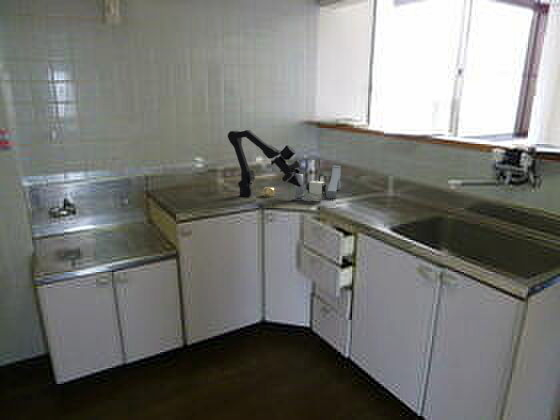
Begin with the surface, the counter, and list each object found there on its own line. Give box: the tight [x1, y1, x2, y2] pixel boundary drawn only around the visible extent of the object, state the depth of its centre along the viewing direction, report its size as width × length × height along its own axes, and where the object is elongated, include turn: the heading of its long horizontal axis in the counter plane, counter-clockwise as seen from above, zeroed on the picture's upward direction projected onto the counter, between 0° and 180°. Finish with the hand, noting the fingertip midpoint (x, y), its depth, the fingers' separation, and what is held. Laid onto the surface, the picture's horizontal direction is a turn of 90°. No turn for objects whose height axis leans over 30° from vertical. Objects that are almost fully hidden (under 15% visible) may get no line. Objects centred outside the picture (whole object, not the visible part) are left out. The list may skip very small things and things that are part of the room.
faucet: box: [325, 165, 342, 199], centre depth 239 cm, size 6×17×30 cm
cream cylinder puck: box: [263, 186, 275, 198], centre depth 231 cm, size 6×6×5 cm
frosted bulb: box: [293, 173, 305, 198], centre depth 220 cm, size 5×5×13 cm
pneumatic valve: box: [305, 179, 329, 202], centre depth 218 cm, size 6×12×12 cm, turn 62°
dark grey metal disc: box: [293, 196, 306, 202], centre depth 222 cm, size 7×7×1 cm
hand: (301, 185), depth 220 cm, fingers closed on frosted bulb, 4 cm apart
